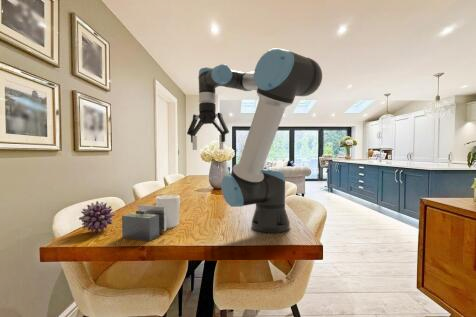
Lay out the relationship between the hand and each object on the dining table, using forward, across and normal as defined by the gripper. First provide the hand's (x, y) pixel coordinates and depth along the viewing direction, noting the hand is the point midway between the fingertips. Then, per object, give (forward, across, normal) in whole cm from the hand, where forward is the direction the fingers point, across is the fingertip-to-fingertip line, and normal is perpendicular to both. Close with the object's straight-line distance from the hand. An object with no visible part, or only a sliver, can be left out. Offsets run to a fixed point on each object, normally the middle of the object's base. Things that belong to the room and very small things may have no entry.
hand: (207, 149), depth 111 cm
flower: (+32, +32, +31) cm, 55 cm away
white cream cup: (+32, +11, +15) cm, 37 cm away
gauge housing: (+32, +12, +31) cm, 46 cm away
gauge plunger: (+31, +12, +27) cm, 43 cm away
